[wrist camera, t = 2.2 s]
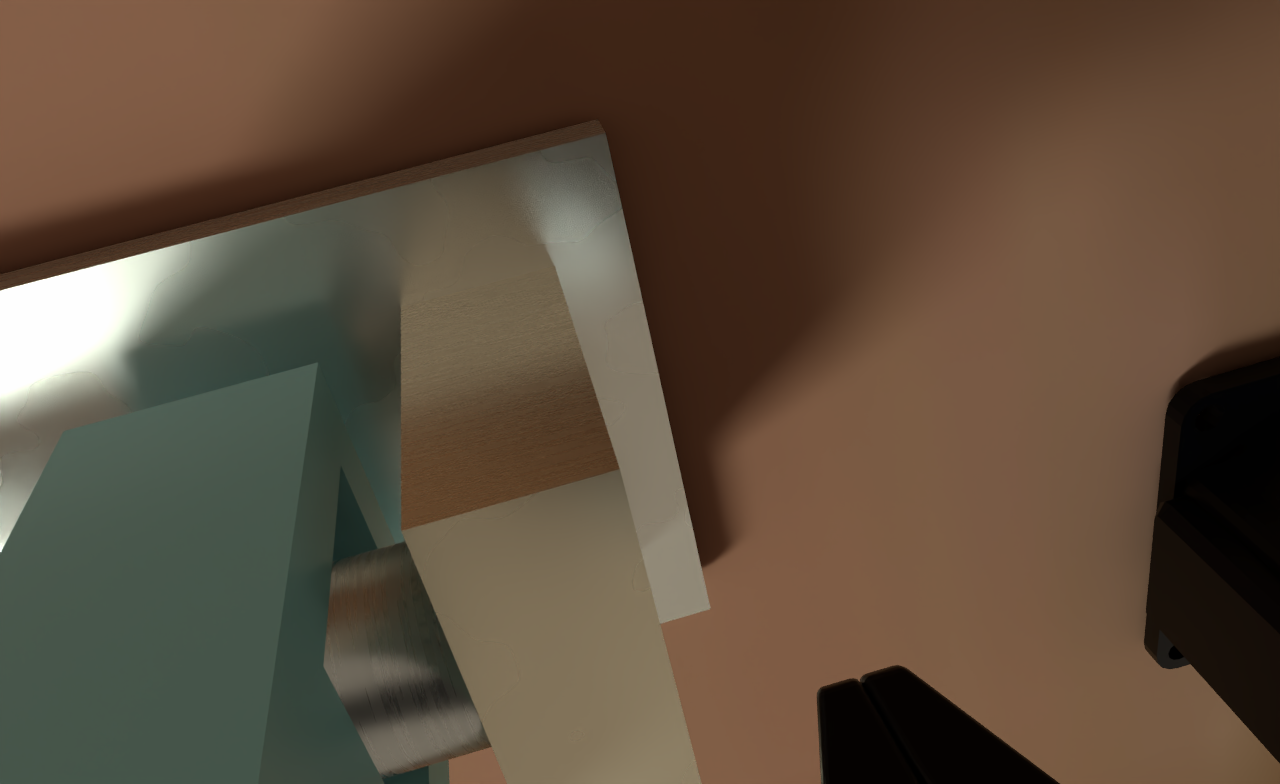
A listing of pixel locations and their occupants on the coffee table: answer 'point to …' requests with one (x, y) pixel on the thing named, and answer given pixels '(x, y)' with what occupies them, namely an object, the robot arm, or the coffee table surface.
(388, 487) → the pipe rig
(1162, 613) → the robot arm
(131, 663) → the collar
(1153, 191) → the coffee table surface
